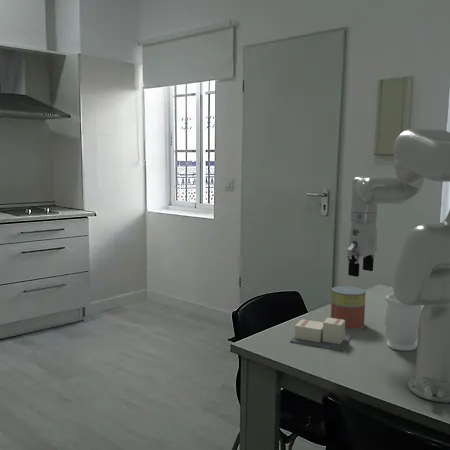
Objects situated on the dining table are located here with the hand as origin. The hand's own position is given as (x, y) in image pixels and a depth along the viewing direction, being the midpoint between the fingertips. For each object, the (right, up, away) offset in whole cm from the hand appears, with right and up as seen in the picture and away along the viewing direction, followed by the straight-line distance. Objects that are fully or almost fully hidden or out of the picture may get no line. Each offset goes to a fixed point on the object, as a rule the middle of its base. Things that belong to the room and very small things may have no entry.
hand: (360, 273), depth 152 cm
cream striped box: (-15, -21, +4) cm, 26 cm away
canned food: (0, -19, +17) cm, 26 cm away
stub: (-8, -21, +1) cm, 23 cm away
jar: (+11, -22, -3) cm, 25 cm away
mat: (-11, -21, +3) cm, 24 cm away
